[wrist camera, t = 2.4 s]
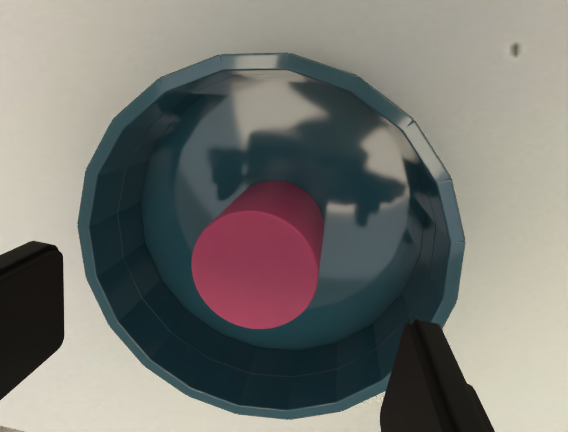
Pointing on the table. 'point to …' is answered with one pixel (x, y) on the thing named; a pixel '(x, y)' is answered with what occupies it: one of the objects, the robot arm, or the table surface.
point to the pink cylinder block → (261, 256)
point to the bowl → (231, 184)
